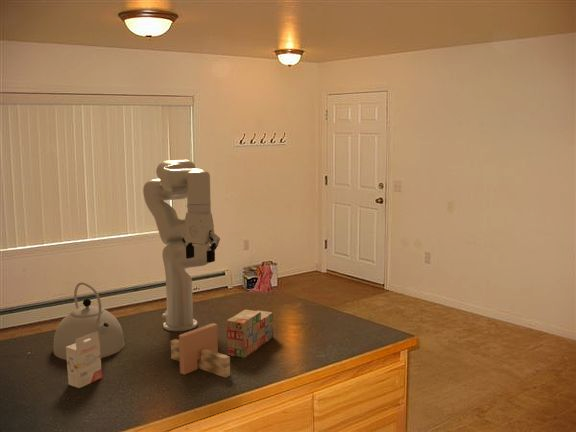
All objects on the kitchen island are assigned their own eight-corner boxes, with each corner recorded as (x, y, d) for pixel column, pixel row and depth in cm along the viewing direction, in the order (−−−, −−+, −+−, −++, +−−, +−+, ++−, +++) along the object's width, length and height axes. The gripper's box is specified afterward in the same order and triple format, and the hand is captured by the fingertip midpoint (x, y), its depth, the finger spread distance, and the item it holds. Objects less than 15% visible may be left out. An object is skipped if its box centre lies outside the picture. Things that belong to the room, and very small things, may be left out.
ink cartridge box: (91, 374, 180) (88, 327, 178) (102, 378, 177) (99, 330, 175) (67, 384, 173) (64, 336, 171) (78, 388, 170) (75, 339, 168)
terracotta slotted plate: (180, 372, 181) (178, 335, 179) (213, 358, 192) (212, 323, 190) (184, 374, 180) (183, 336, 178) (217, 360, 190) (217, 324, 188)
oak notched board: (171, 358, 192) (170, 340, 191) (175, 356, 194) (175, 338, 193) (225, 377, 177) (225, 358, 177) (230, 375, 179) (229, 356, 178)
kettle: (140, 349, 200) (137, 284, 197) (76, 369, 184) (72, 298, 181) (103, 331, 218) (100, 271, 214) (42, 347, 202) (37, 283, 198)
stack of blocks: (257, 334, 214) (257, 301, 212) (273, 337, 211) (273, 304, 209) (227, 355, 195) (226, 319, 193) (243, 359, 192) (243, 322, 190)
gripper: (172, 207, 196) (174, 258, 199) (209, 212, 186) (211, 265, 189) (189, 205, 202) (190, 254, 205) (226, 209, 192) (227, 261, 195)
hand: (200, 259), depth 197 cm, fingers open, 9 cm apart
